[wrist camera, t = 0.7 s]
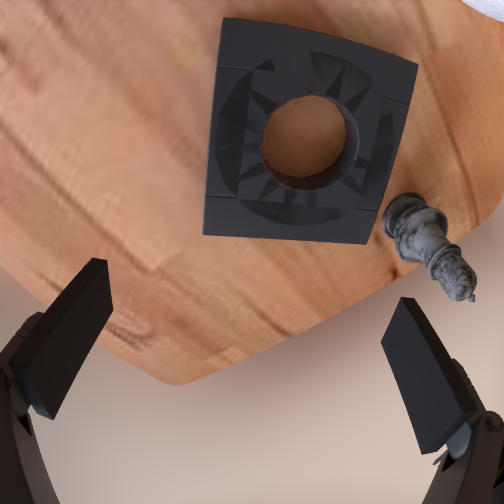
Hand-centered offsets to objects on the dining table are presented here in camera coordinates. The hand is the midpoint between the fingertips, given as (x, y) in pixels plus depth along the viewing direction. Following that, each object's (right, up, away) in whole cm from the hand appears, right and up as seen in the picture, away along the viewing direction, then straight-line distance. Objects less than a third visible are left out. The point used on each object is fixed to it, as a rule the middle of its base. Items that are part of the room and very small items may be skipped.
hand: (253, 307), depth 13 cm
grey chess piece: (+15, +6, +15) cm, 22 cm away
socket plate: (+4, +11, +9) cm, 15 cm away
